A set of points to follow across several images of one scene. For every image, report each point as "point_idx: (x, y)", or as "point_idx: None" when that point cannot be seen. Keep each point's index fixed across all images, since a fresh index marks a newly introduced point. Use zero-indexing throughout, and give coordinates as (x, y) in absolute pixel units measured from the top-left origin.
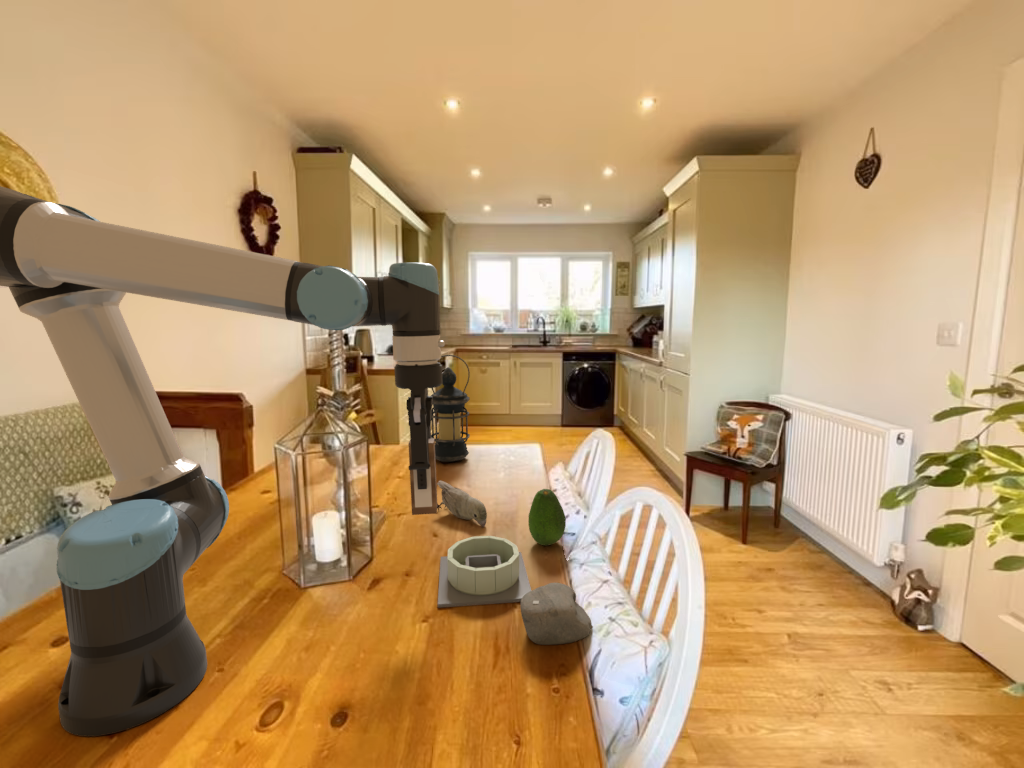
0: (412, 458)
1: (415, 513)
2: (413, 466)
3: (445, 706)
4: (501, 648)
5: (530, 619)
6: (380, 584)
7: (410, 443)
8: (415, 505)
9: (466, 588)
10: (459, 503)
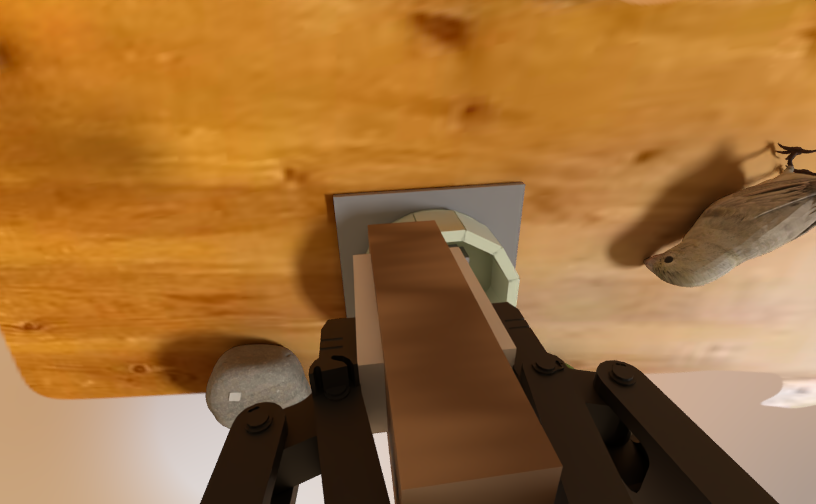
0: (210, 484)
1: (368, 238)
2: (232, 432)
3: (65, 234)
4: (219, 305)
5: (211, 377)
6: (435, 46)
7: (420, 497)
8: (353, 260)
9: (368, 253)
10: (732, 228)
